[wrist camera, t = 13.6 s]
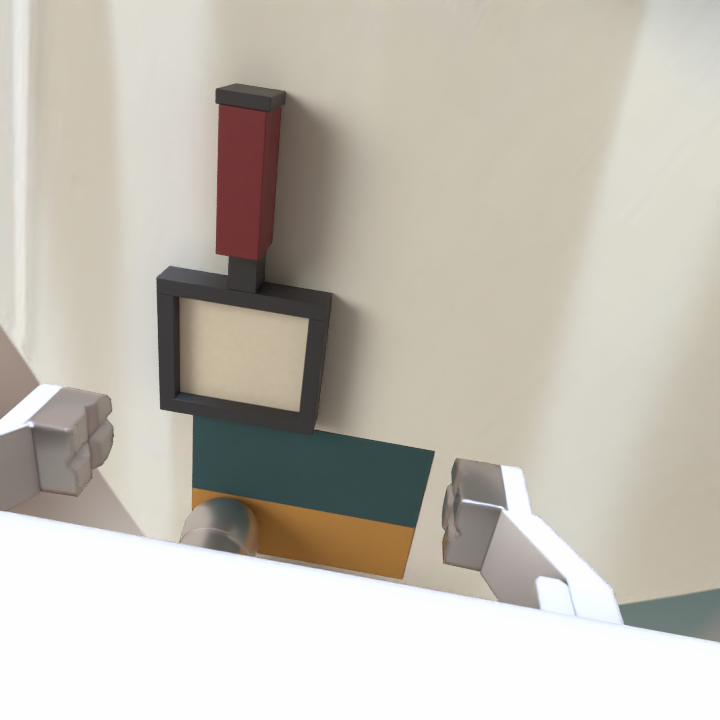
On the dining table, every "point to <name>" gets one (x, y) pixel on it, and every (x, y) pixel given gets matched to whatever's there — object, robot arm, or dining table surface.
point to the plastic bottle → (223, 527)
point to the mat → (316, 492)
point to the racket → (243, 294)
